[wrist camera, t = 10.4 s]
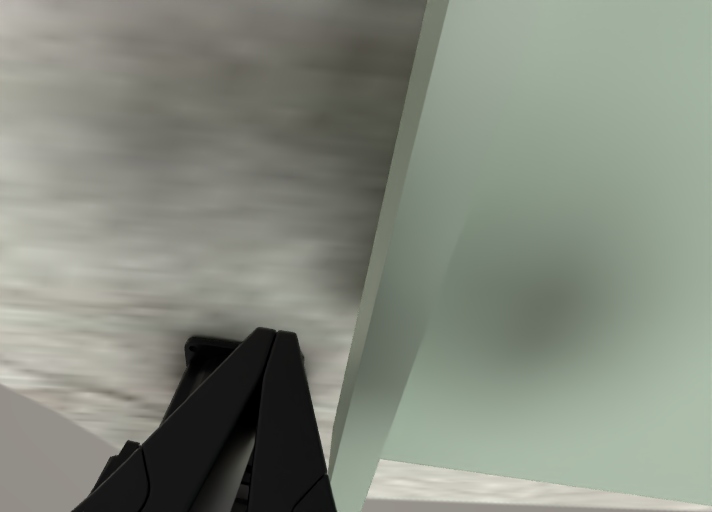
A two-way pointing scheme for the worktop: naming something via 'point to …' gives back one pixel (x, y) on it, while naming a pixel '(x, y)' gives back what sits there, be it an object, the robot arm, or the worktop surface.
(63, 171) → the worktop surface
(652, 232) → the lid
